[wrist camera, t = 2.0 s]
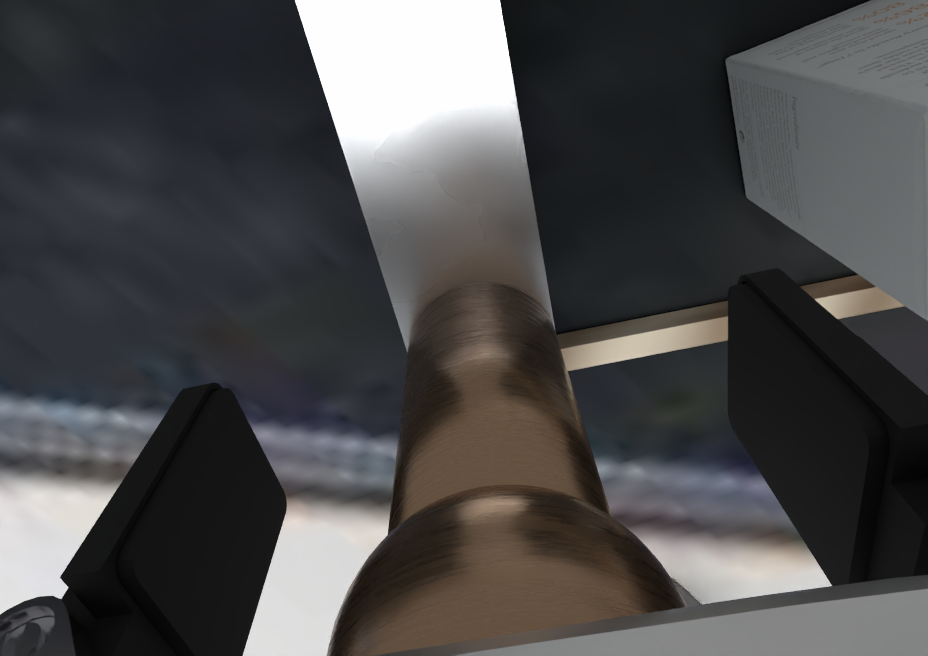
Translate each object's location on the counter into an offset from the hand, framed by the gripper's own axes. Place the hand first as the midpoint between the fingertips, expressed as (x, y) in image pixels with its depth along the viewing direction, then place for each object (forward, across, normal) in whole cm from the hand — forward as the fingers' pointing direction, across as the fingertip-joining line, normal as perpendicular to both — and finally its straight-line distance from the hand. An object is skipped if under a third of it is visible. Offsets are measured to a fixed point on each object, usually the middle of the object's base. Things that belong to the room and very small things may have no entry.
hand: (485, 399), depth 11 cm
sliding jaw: (+13, 0, 0) cm, 13 cm away
